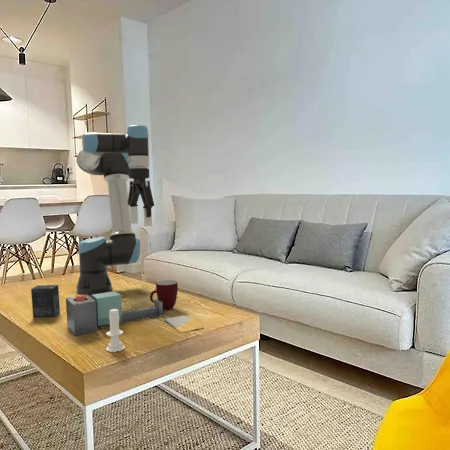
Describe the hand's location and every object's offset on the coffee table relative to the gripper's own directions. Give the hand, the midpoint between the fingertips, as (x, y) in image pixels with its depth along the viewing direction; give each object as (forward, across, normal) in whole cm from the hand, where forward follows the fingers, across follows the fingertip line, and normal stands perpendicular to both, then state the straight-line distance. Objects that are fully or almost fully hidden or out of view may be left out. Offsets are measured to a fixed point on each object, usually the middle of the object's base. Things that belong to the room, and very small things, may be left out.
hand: (141, 224), depth 165 cm
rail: (+32, +12, -12) cm, 36 cm away
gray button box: (+32, +12, -26) cm, 43 cm away
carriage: (+32, +12, -18) cm, 38 cm away
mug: (+32, +7, +5) cm, 33 cm away
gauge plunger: (+24, +12, -26) cm, 38 cm away
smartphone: (+32, +27, +3) cm, 42 cm away
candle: (+32, +35, -23) cm, 53 cm away
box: (+32, -12, -33) cm, 48 cm away
